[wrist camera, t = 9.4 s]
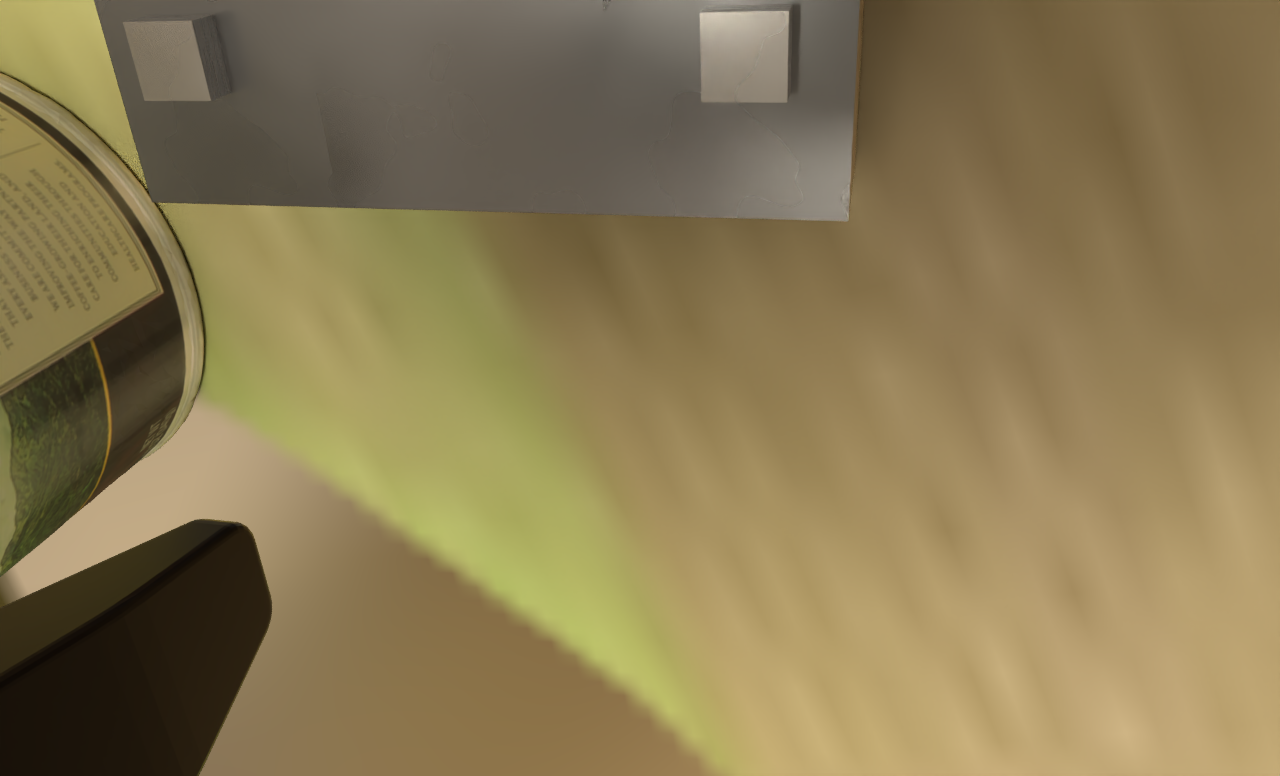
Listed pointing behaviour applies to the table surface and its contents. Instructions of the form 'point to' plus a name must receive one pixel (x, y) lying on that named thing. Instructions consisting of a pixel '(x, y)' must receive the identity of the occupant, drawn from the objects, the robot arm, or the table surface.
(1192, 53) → the table surface
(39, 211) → the coffee can
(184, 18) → the rosette plate
